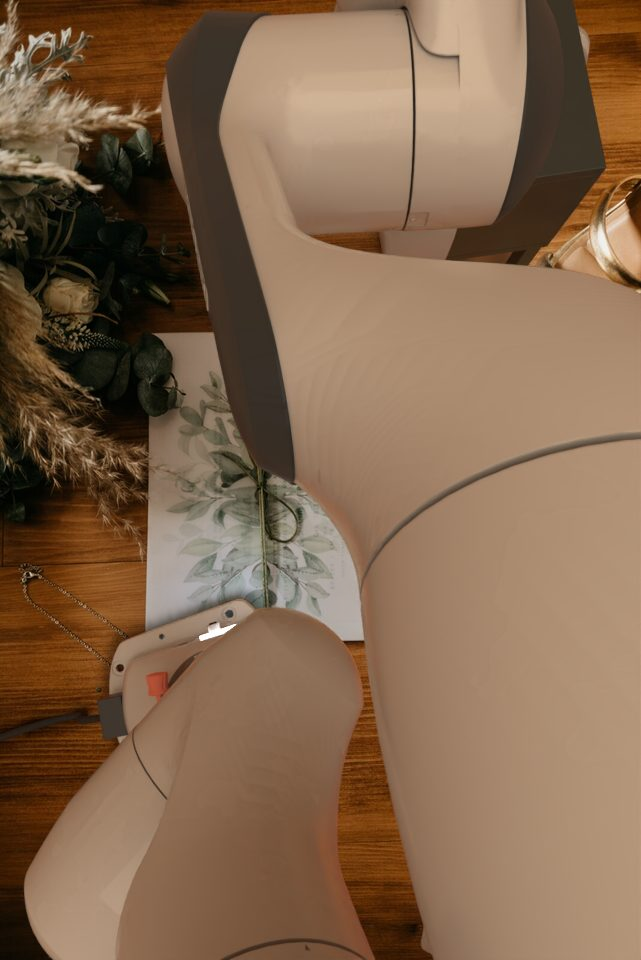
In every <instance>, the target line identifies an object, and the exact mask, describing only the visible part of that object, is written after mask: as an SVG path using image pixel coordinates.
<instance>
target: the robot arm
mask: <svg viewBox="0 0 641 960" xmlns="http://www.w3.org/2000/svg"><path fill="white" fill-rule="evenodd" d="M335 1H336V3H335V6H334V9H333V11H331V12H330V11H328V12H312V13H311V12H310V13H292V14H288V13H287V14H272V13H270V12H265V11H240V10H239V11H237V10H233V11H232V10H211V9H209V10H206V12H205V13H203V15H202V16H201V17H199V19H198V20H197V21H195V22H194V23H193V25H192V26H190V28H189V29H188V31H186V32H185V34H184V35H183V36H182V37H181V39H180V40H179V42H178V43H177V44H176V46H175V47H174V48H173V50H172V52H171V53H170V55H169V56H168V58H167V60H166V62H165V75H164V79H163V83H162V89H161V101H160V102H161V103H160V105H161V107H160V114H161V128H162V129H161V130H162V137H163V143H164V148H165V153H166V157H167V161H168V165H169V168H170V172H171V175H172V178H173V180H174V183H175V185H176V187H177V190H178V192H179V194H180V196H181V199H182V200H183V202H184V203H185V205H186V207H187V208H186V209H187V214H188V217H189V218H188V219H189V224H190V229H191V234H192V241H193V245H194V251H195V254H196V262H197V267H198V272H199V275H200V277H199V278H200V283H201V288H202V291H203V298H204V301H205V307H206V312H207V315H208V318H209V319H210V322H211V327H212V332H213V337H214V342H215V347H216V352H217V357H218V362H219V365H220V370H221V375H222V379H223V383H224V388H225V392H226V397H227V402H228V405H229V409H230V412H231V415H232V418H233V422H234V424H235V425H236V429H237V431H238V433H239V436H240V439H241V440H242V442H243V444H244V446H245V448H246V450H247V452H248V454H249V455H250V457H251V458H252V460H253V462H254V463H255V465H256V466H257V468H259V469H261V470H263V471H265V472H267V473H269V474H271V475H273V476H274V477H277V478H280V479H281V480H283V481H285V482H287V483H289V484H295V485H297V486H298V487H299V488H300V489H301V490H302V491H303V492H304V493H305V494H306V495H307V496H308V497H309V498H310V499H311V500H312V501H313V502H314V503H315V504H316V505H317V506H318V507H319V509H321V511H322V512H323V513H324V515H326V517H327V518H328V519H329V520H330V522H331V523H332V525H333V526H334V528H335V529H336V531H337V532H338V534H339V535H340V538H341V539H342V540H343V542H344V545H345V546H346V548H347V551H348V554H349V555H350V559H351V561H352V564H353V566H354V570H355V573H356V580H357V585H358V595H359V602H360V614H361V616H360V617H361V623H362V624H361V625H362V632H363V633H362V634H363V643H364V651H365V659H366V661H365V662H366V669H367V675H368V681H369V688H370V694H371V699H372V706H373V712H374V718H375V725H376V732H377V736H378V742H379V747H380V751H381V757H382V762H383V764H384V771H385V775H386V780H387V785H388V790H389V794H390V799H391V805H392V809H393V814H394V818H395V822H396V825H397V826H396V827H397V830H398V833H399V838H400V842H401V845H402V851H403V854H404V858H405V862H406V866H407V870H408V874H409V878H410V883H411V885H412V889H413V894H414V897H415V902H416V905H417V908H418V912H419V916H420V919H421V921H422V925H423V928H422V934H421V939H420V947H421V949H422V950H423V951H424V952H426V953H428V954H430V955H432V959H433V960H641V293H640V292H639V291H637V290H634V289H632V288H631V287H628V286H626V285H624V284H621V283H617V282H615V281H614V280H610V279H607V278H603V277H601V276H597V275H593V274H589V273H585V272H580V271H576V270H571V269H563V268H556V267H548V266H540V265H539V266H538V265H528V266H527V265H514V264H499V263H483V262H466V261H450V260H445V259H446V257H447V255H448V252H449V250H450V248H451V245H452V243H453V240H454V238H455V234H456V231H457V228H468V227H478V226H486V225H489V226H493V225H494V224H496V223H497V222H499V221H500V220H501V219H503V218H504V217H505V216H506V215H507V214H508V213H509V212H510V211H511V210H512V209H513V208H514V207H515V206H516V205H517V204H518V203H519V202H520V200H521V199H522V198H523V196H524V195H525V194H526V192H527V191H528V189H529V188H530V187H531V185H532V184H533V182H534V181H535V179H536V177H537V176H538V174H539V173H540V171H541V170H542V168H543V166H544V164H545V161H546V159H547V157H548V154H549V151H550V149H551V146H552V143H553V140H554V137H555V133H556V130H557V126H558V122H559V118H560V113H561V108H562V101H563V91H564V63H563V51H562V45H561V39H560V35H559V31H558V27H557V24H556V21H555V18H554V16H553V13H552V11H551V9H550V8H549V6H548V4H547V1H546V0H335ZM363 233H378V236H379V241H380V242H379V243H380V247H381V253H379V252H371V251H365V250H364V251H363V250H359V249H352V248H347V247H343V246H339V245H335V244H331V243H328V242H325V241H323V240H320V239H317V238H315V237H312V236H324V235H343V234H363ZM228 611H231V612H232V616H228V615H227V612H228ZM162 635H163V637H162ZM119 665H122V666H123V670H120V669H119ZM108 692H109V693H108V694H106V695H103V696H101V697H100V698H98V699H97V700H96V704H97V710H98V714H91V715H89V713H88V712H87V711H86V710H80V711H79V710H77V711H72V712H68V713H64V714H59V715H54V716H51V717H47V718H44V719H40V720H37V721H34V722H30V723H28V724H27V723H26V724H25V725H24V724H23V725H21V726H18V727H15V728H11V729H9V730H6V731H3V732H1V733H0V743H1V742H3V741H5V740H9V739H11V738H13V737H18V736H20V735H23V734H26V733H29V732H33V731H35V730H39V729H42V728H47V727H49V726H51V725H56V724H60V723H64V722H68V721H72V720H73V721H74V720H76V722H77V723H78V724H81V725H85V724H87V725H88V724H96V723H100V728H101V733H102V738H103V741H106V740H112V739H115V738H117V742H118V745H117V746H116V748H114V749H113V751H111V753H110V754H109V755H108V757H107V758H106V759H105V760H104V761H103V762H102V763H101V765H99V766H98V768H97V769H96V770H95V771H94V772H93V774H92V775H90V777H89V778H88V779H87V780H86V781H85V782H84V784H83V785H82V786H81V787H80V788H79V789H78V790H77V792H76V793H75V794H74V795H73V796H72V797H71V799H70V800H69V801H68V803H67V805H66V806H65V807H64V809H63V810H62V812H61V814H60V815H59V816H58V818H57V819H56V821H55V823H54V825H53V826H52V828H51V829H50V830H49V832H48V834H47V836H46V837H45V839H44V841H43V842H42V844H41V846H40V847H39V849H38V851H37V853H36V854H35V856H34V858H33V860H32V862H31V863H30V865H29V867H28V868H27V871H26V873H25V877H24V882H23V883H24V884H23V890H24V891H23V893H24V895H23V897H24V905H25V909H26V914H27V919H28V922H29V925H30V927H31V929H32V933H33V934H34V936H35V937H36V940H37V942H38V943H39V944H40V946H41V948H42V949H43V950H44V952H45V953H46V954H47V955H48V957H50V958H51V959H52V960H377V959H376V957H375V955H374V953H373V950H372V948H371V946H370V943H369V941H368V938H367V936H366V933H365V932H364V929H363V926H362V924H361V921H360V919H359V916H358V913H357V911H356V908H355V905H354V903H353V900H352V898H351V895H350V892H349V889H348V887H347V883H346V882H345V879H344V875H343V871H342V867H341V862H340V853H339V842H338V841H339V838H338V833H339V831H338V830H339V829H338V827H339V826H338V825H339V824H338V823H339V803H340V793H341V783H342V779H343V778H342V777H343V771H344V768H345V767H344V766H345V762H346V757H347V753H348V750H349V746H350V742H351V739H352V736H353V734H354V731H355V728H356V726H357V723H358V720H359V718H360V716H361V713H362V712H363V708H364V706H365V701H364V700H365V699H364V689H363V682H362V679H361V674H360V671H359V668H358V666H357V664H356V661H355V659H354V657H353V655H352V653H351V651H350V650H349V648H348V646H347V645H346V644H345V643H344V641H343V640H342V639H341V638H340V636H339V635H338V634H337V633H336V632H335V631H333V630H332V628H330V627H329V625H326V624H325V623H324V622H322V621H321V620H320V619H318V618H316V617H314V616H312V615H310V614H308V613H306V612H302V611H300V610H297V609H291V608H287V607H280V606H279V607H277V606H267V607H259V608H258V607H257V608H256V607H255V606H253V604H251V602H249V600H246V599H245V598H235V599H233V600H230V601H226V602H224V603H222V604H219V605H216V606H213V607H211V608H208V609H204V610H201V611H200V612H197V613H194V614H191V615H188V616H185V617H183V618H180V619H177V620H175V621H174V620H173V621H172V622H169V623H166V624H164V625H161V626H158V627H155V628H152V629H150V630H148V631H143V632H142V633H138V634H136V635H134V636H130V637H128V638H125V639H124V640H122V641H121V642H120V643H119V644H118V646H117V647H116V650H115V652H114V654H113V657H112V660H111V665H110V670H109V683H108Z"/></svg>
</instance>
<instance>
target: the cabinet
mask: <svg viewBox="0 0 641 960" xmlns="http://www.w3.org/2000/svg"><path fill="white" fill-rule="evenodd" d="M546 1H547V4H548V6H549V8H550V9H551V11H552V13H553V16H554V18H555V21H556V24H557V27H558V31H559V35H560V39H561V45H562V51H563V63H564V91H563V101H562V108H561V113H560V118H559V122H558V126H557V130H556V133H555V137H554V140H553V143H552V146H551V149H550V151H549V154H548V157H547V159H546V161H545V164H544V166H543V168H542V170H541V171H540V173H539V174H538V176H537V177H536V179H535V181H534V182H533V184H532V185H531V187H530V188H529V189H528V191H527V192H526V194H525V195H524V196H523V198H522V199H521V200H520V202H519V203H518V204H517V205H516V206H515V207H514V208H513V209H512V210H511V211H510V212H509V213H508V214H507V215H506V216H505V217H504V218H503V219H501V220H500V221H499V222H497V223H496V224H494V225H493V226H489V225H486V226H478V227H468V228H457V231H456V234H455V238H454V240H453V243H452V245H451V248H450V250H449V252H448V255H447V257H446V259H445V260H450V261H457V260H460V259H467V258H474V257H480V256H487V255H494V254H501V253H507V252H512V254H511V255H510V257H509V258H508V260H507V261H506V263H505V264H514V265H527V266H530V264H531V263H532V261H533V260H534V258H535V257H536V256H537V255H538V253H539V252H540V250H542V248H547V247H548V246H549V245H550V243H551V242H552V241H553V239H554V238H555V237H556V236H557V234H558V233H559V232H560V231H561V229H562V228H563V226H564V225H565V224H566V222H567V221H568V220H569V218H570V217H571V216H572V215H573V213H574V212H575V211H576V209H577V208H578V207H579V205H580V204H581V202H583V200H584V198H585V197H586V196H587V194H588V193H589V192H590V190H591V189H592V188H593V186H595V184H596V182H597V181H598V180H599V178H600V177H601V176H602V174H603V173H604V172H605V170H606V169H607V163H606V158H605V153H604V148H603V142H602V137H601V133H600V128H599V122H598V117H597V113H596V107H595V102H594V98H593V92H592V87H591V82H590V78H589V73H588V67H587V64H586V62H585V57H584V52H583V47H582V41H581V36H580V31H579V26H580V25H579V22H578V21H579V20H578V17H577V11H576V6H575V3H574V0H546Z"/></svg>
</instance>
